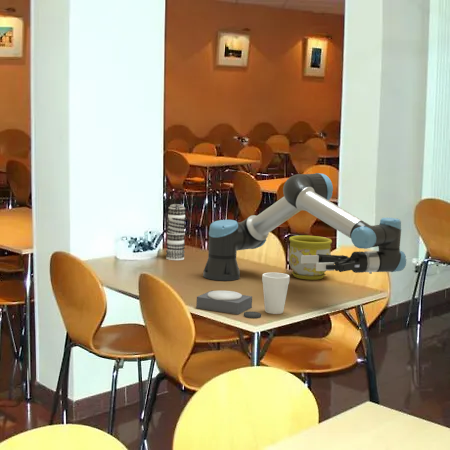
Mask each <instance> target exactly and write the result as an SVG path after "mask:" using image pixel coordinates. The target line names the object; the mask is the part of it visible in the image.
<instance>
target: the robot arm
mask: <svg viewBox="0 0 450 450" xmlns="http://www.w3.org/2000/svg"><path fill="white" fill-rule="evenodd" d="M333 191H334V186H333V182H332V181H331V178H329V176H327V175H326V174H325V173H319V172H316V173H303V174H301V173H297V174H293V175H291V176H290V177H288V178H287V179H286V181H285V182H284V184H283V188H282V192H283V196H282V197H281V198H280V199H279V200H277V201H275V202H274V203H273V204H272V205H270V206H269V207H267V208H265V209H264V210H263V211H262V212H260V213H259V214H258V215H255V214H254V215H252V214H251V215H250V216H248V217H247V218H246V219H244V220H243V221H240V222H238V221H237V220H234V219H220V220H216V221H215V220H214V221H213V222H211V223H210V225H209V230H208V256H207V261H206V263H205V266H204V269H203V273H202V274H203V278H205V279H208V280H211V281H224V282H225V281H236V280H239V279H241V277H240V276H241V275H240V273H241V272H240V269H239V264H238V261H237V260H238V259H237V252H238V251H245V250H254V249H258V248H260V247H262V246H263V245H265V243H267V239H268V237H269V235H270V232H272V231H273V230H275V229H276V228H277V227H279V226H280V225H282V224H283V223H285V222H286V221H288V220H290V219H291V218H292V217H293V216H295V215H296V214H298V213H299V212H301V211H303V212H304V211H305V212H307V213H308V214H310V215H312V216H314V217H315V218H317V219H318V220H320V221H322V222H323V223H325V224H327V225H328V226H330V227H331V228H333V229H335V230H337V231H338V232H340V233H341V234H343V235H345V236H346V237H347V238H350V239H351V242H352V244H353V246H355V248H357V249H364V251H353V252H352V253H351V255H350V256H348V255H343V254H342V255H337V254H336V255H335V254H331V255H323V254H317V255H313V256H301V263H302V264H303V263H316V271H326V272H330V271H331V272H332V271H333V272H334V271H336V272H340V273H342V272H348V271H352V272H353V273H355V274H356V273H358V274H359V273H361V274H362V273H369V274H373V273H393V272H401V271H403V270H404V269H405V268H406V266H407V258H406V254H405V252H404V251H403V250H401V234H402V221H401V219H399V218H395V217H382V218H381V219H380V221H379V223H378V224H375V225H371V224H369V223H367V222H365V221H363V220H362V219H360V218H358V217H356V216H355V215H354V214H352V213H351V212H349V211H347V210H345V209H343V208H342V207H341V206H339V205H337V204H336V203H333V202H331V201H330V200H331V198H332V196H333ZM376 247H377V248H378V250H368V251H367V250H365V249H371V248H376ZM319 262H320V263H319Z"/></svg>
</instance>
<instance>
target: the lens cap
mask: <svg viewBox="0 0 450 450" xmlns="http://www.w3.org/2000/svg"><path fill="white" fill-rule="evenodd" d="M243 317H244V318H247V319H260V318H262V313H261V312H259V311H251V310H250V311H244V312H243Z"/></svg>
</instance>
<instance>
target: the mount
mask: <svg viewBox="0 0 450 450" xmlns="http://www.w3.org/2000/svg"><path fill="white" fill-rule="evenodd" d="M252 307H253V296H251V295H245V294H242V293H240V292H237V291H234V290H210V291H207V292H205V293H203V294H200V295H198V296H196V309H200V310H205V311H206V310H207V311H214V312H218V313H219V312H220V313H226V314H232V315H239V314H242V313H244V312H247V311H248V310H250V309H251V308H252Z"/></svg>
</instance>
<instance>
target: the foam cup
mask: <svg viewBox="0 0 450 450" xmlns="http://www.w3.org/2000/svg"><path fill="white" fill-rule="evenodd" d="M261 277H262V278H261V282H262V288H263V301H264V303H263V304H264V312H265V313H268V314H270V315H280V314H283V313H284V310H285V304H286V299H287V293H288V290H289V289H288V288H289V284H290V278H291V276H290V275H289V274H287V273H282V272H265V273H262V276H261Z"/></svg>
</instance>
